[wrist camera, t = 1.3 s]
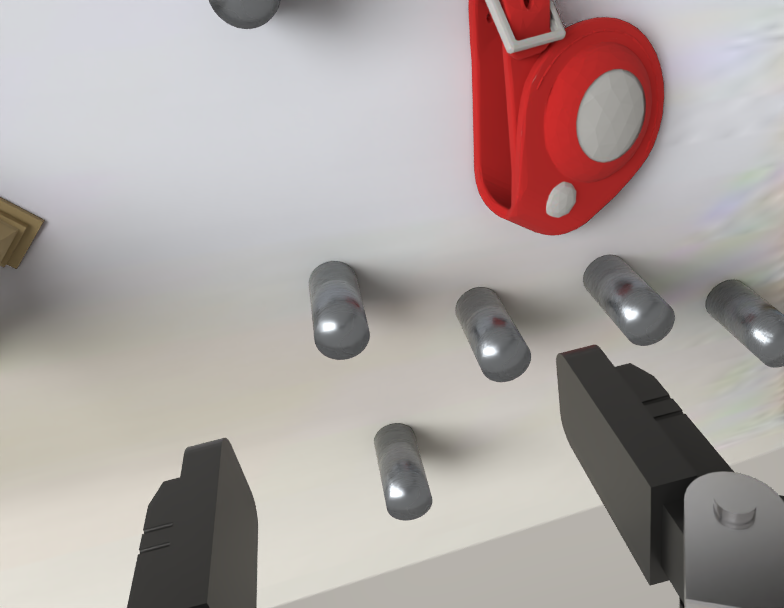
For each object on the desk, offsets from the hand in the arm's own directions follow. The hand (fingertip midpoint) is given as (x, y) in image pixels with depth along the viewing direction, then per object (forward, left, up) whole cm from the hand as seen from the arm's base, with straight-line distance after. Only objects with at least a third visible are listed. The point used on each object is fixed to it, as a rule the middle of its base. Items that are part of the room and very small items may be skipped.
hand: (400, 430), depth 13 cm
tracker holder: (-11, 0, -20) cm, 23 cm away
